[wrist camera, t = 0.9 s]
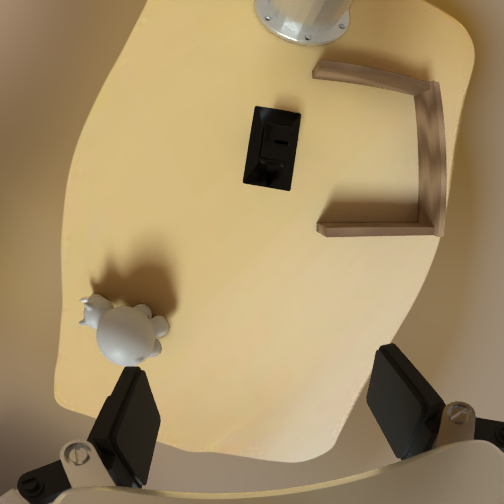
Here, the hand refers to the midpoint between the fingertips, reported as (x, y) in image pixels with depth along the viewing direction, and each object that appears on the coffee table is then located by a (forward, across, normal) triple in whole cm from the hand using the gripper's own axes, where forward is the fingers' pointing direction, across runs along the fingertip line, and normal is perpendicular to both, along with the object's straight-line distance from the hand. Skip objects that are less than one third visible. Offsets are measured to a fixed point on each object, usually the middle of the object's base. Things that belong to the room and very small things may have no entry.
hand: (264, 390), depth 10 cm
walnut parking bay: (+25, -17, -11) cm, 32 cm away
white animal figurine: (+25, +16, +8) cm, 31 cm away
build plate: (+26, -4, -11) cm, 28 cm away
